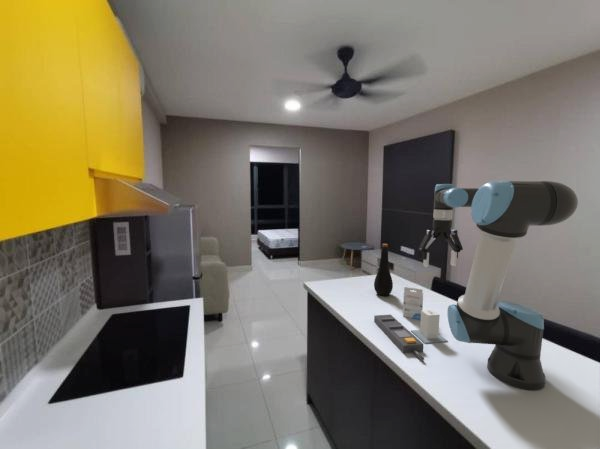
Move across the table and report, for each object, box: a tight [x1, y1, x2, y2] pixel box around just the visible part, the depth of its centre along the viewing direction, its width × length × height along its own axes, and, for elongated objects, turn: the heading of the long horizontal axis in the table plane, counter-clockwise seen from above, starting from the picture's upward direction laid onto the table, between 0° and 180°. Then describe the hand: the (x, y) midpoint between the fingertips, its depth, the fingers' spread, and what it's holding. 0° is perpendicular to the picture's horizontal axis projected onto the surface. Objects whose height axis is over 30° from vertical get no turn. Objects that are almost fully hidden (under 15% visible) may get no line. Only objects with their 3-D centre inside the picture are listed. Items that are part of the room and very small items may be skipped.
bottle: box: [373, 243, 394, 298], centre depth 164 cm, size 11×11×30 cm
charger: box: [419, 309, 440, 339], centre depth 116 cm, size 5×5×10 cm
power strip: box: [373, 314, 425, 362], centre depth 115 cm, size 32×8×4 cm, turn 9°
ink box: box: [402, 286, 424, 321], centre depth 135 cm, size 8×5×15 cm, turn 62°
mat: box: [410, 329, 448, 345], centre depth 117 cm, size 10×10×1 cm
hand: (439, 266), depth 126 cm, fingers open, 13 cm apart
